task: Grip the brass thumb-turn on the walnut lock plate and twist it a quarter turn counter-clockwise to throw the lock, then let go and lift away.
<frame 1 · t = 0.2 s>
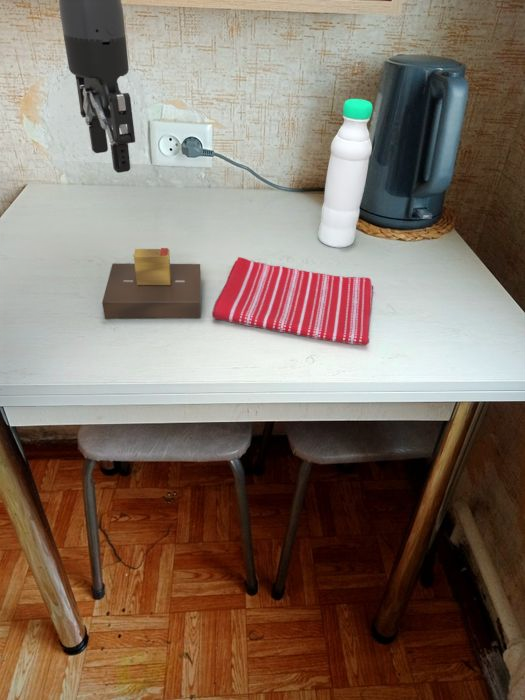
hand: (111, 161, 74), 18 cm above the table, tool pointing down, fingers open, 8 cm apart
lock plate: (155, 298, 80), on the table
water bottle: (335, 241, 99), on the table
dish towel: (295, 305, 81), on the table
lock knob: (153, 266, 76), point 6 cm above the table, hinge at 0.0°
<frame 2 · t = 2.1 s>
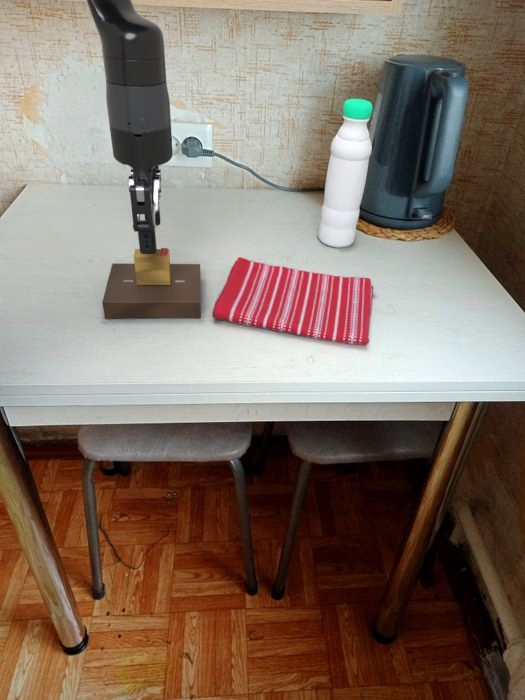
hand: (151, 238, 73), 10 cm above the table, tool pointing down, fingers open, 8 cm apart
nothing on the table moved.
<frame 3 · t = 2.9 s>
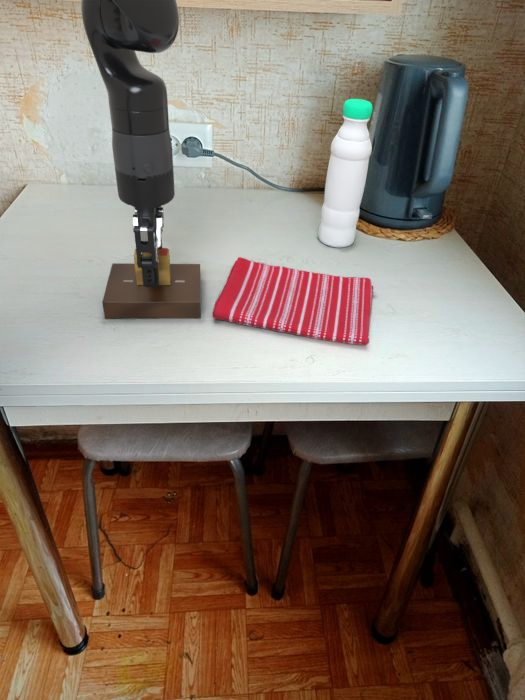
hand: (153, 270, 77), 5 cm above the table, tool pointing down, fingers open, 8 cm apart
nothing on the table moved.
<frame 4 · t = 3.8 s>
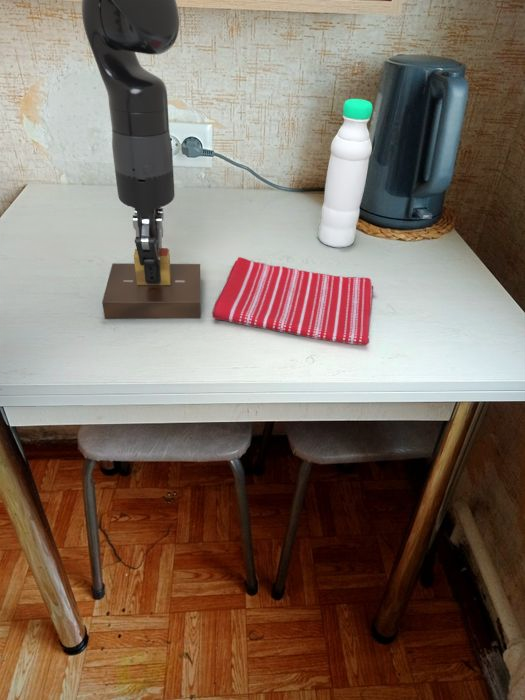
hand: (153, 277, 77), 4 cm above the table, tool pointing down, fingers closed on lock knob, 2 cm apart
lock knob: (153, 266, 76), point 6 cm above the table, hinge at 0.1°, touching gripper
everything else where it was.
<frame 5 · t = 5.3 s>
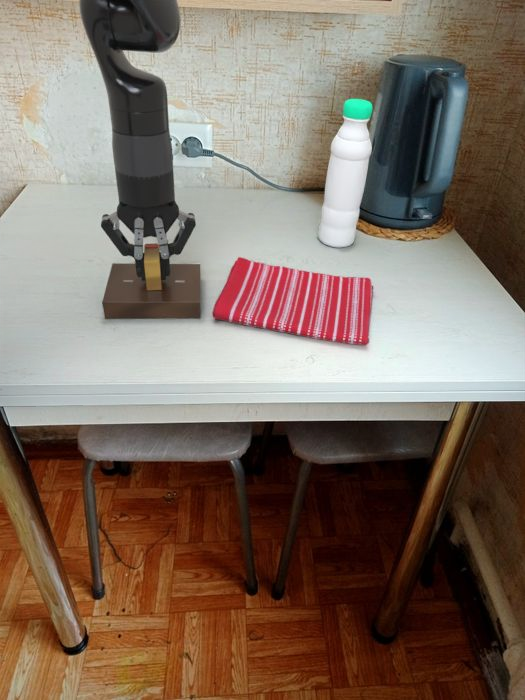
hand: (154, 277, 77), 4 cm above the table, tool pointing down, fingers closed on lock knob, 2 cm apart
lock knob: (153, 266, 76), point 6 cm above the table, hinge at 94.4°, touching gripper
everything else where it was.
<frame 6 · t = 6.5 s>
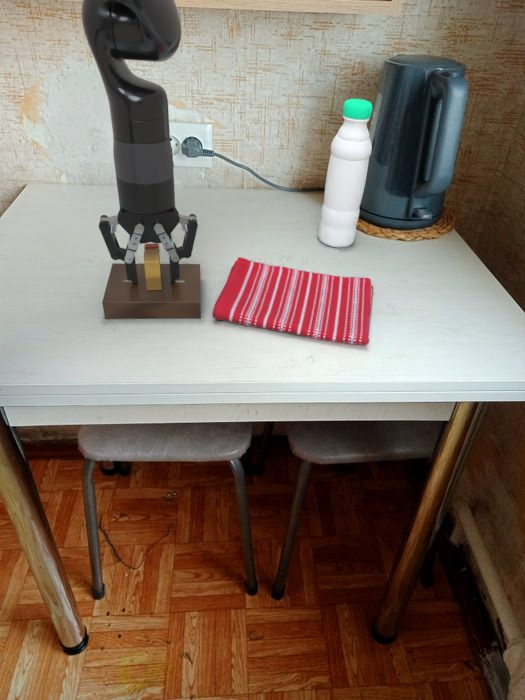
hand: (154, 280, 78), 3 cm above the table, tool pointing down, fingers open, 5 cm apart
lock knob: (153, 266, 76), point 6 cm above the table, hinge at 94.3°
everything else where it was.
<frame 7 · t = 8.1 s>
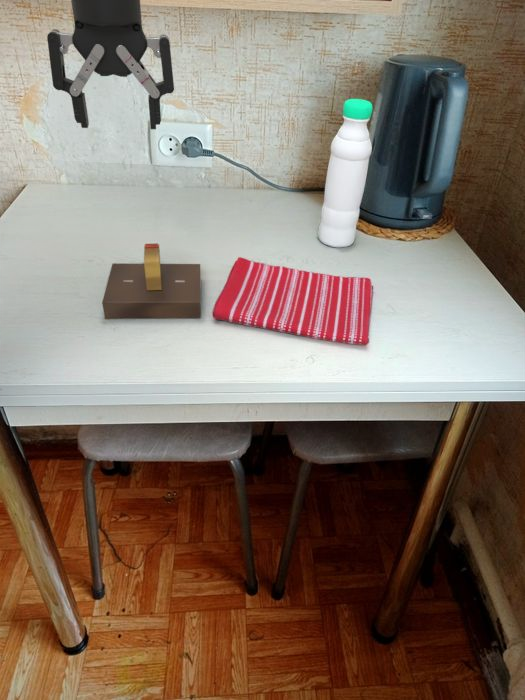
hand: (119, 127, 66), 25 cm above the table, tool pointing down, fingers open, 8 cm apart
nothing on the table moved.
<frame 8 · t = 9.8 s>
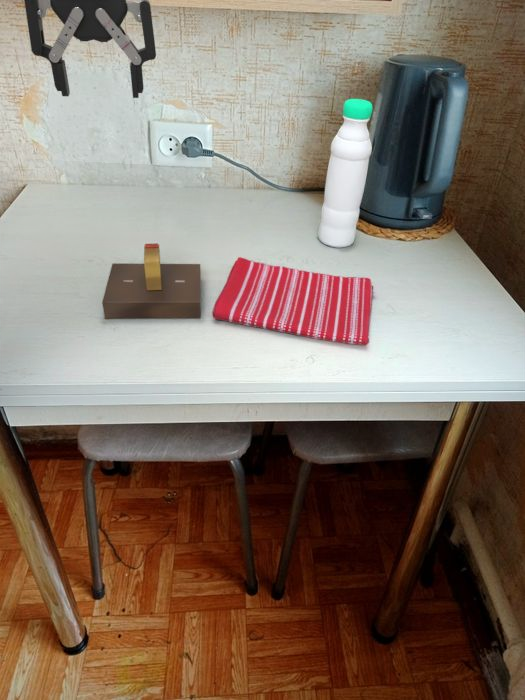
hand: (101, 95, 65), 28 cm above the table, tool pointing down, fingers open, 8 cm apart
nothing on the table moved.
at the end: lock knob at +94° (first picture: +0°); the gripper is holding nothing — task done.
